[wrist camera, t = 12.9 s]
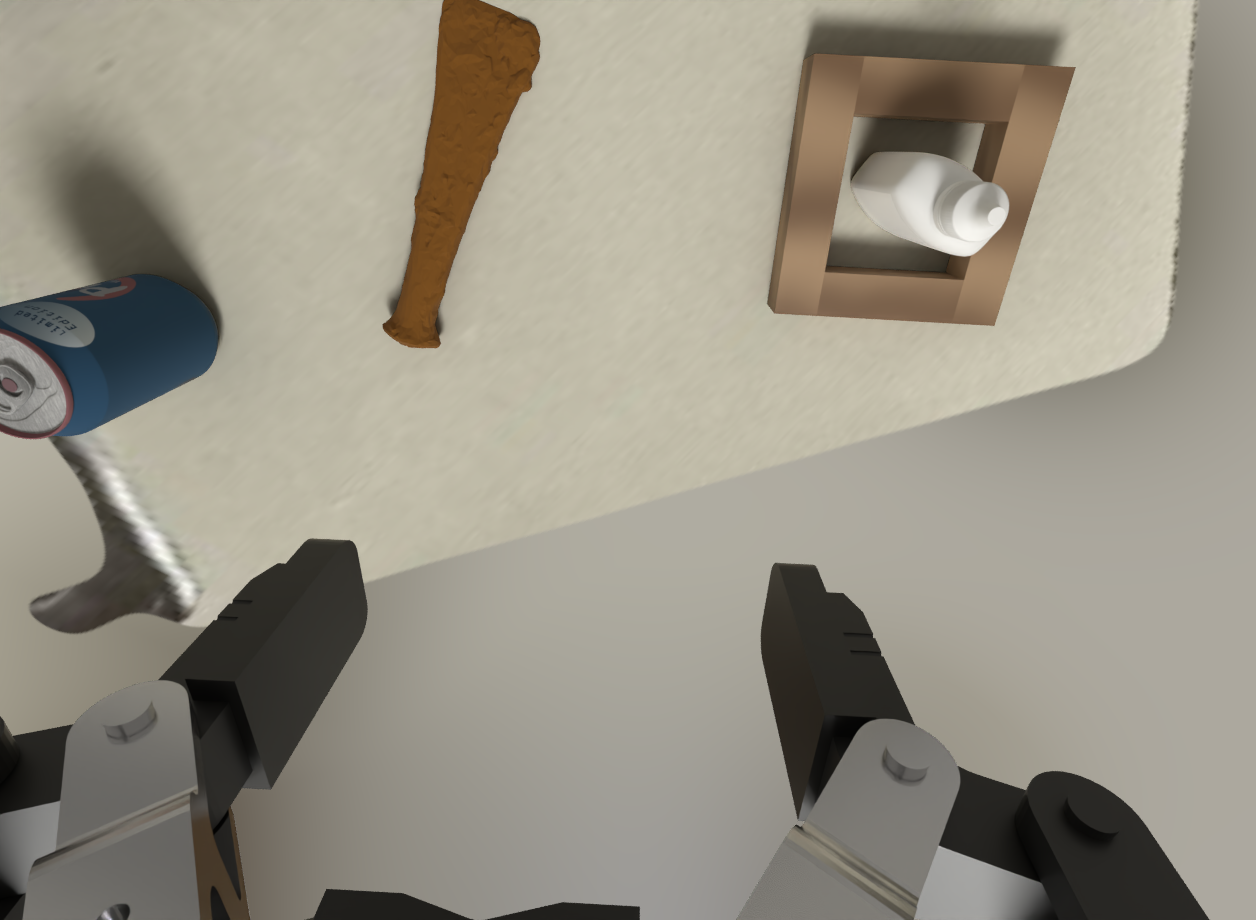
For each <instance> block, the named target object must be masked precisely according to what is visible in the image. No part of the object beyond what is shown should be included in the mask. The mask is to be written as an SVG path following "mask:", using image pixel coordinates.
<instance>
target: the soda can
mask: <svg viewBox="0 0 1256 920" xmlns="http://www.w3.org/2000/svg"><path fill="white" fill-rule="evenodd" d="M217 346H218V330H217V325H216V322H215V320H214V318H213V316H212V314H211V312H210V310H209V309H208V307H207V306H206V305H205V304H204V303H203V301H202V300H201V299H200V298H198V297H197V296H196V295H195V294H194V293H192V292H191V291H189V290H188V289H186V288H184V287H182V286H180V285H178V284H177V283H175V282H172V281H170V280H168V279H165V278H162V277H159V276H155V275H148V274H135V275H130V276H126V277H122V278H118V279H114V280H109V281H105V282H101V283H97V284H93V285H89V286H85V287H81V288H77V289H72V290H68V291H64V292H60V293H56V294H52V295H48V296H44V297H40V298H35V299H31V300H27V301H23V302H19V303H15V304H11V305H7V306H3V307H0V431H1V432H3V433H5V434H8V435H11V436H14V437H18V438H25V439H41V438H46V437H50V436H74V435H80V434H83V433H86V432H88V431H91V430H93V429H95V428H97V427H99V426H101V425H103V424H105V423H107V422H109V421H111V420H113V419H115V418H117V417H119V416H121V415H123V414H125V413H127V412H129V411H131V410H133V409H135V408H137V407H139V406H141V405H143V404H145V403H147V402H149V401H151V400H153V399H155V398H157V397H159V396H161V395H163V394H165V393H167V392H169V391H171V390H173V389H175V388H177V387H179V386H181V385H183V384H185V383H187V382H189V381H191V380H193V379H195V378H197V377H199V376H201V375H202V374H204V373H205V372H206V371H207V370H208V369H209V368H210V366H211V365H212V363H213V361H214V359H215V356H216V352H217Z"/></svg>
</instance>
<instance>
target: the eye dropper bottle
mask: <svg viewBox="0 0 1256 920" xmlns="http://www.w3.org/2000/svg"><path fill="white" fill-rule="evenodd" d="M851 189H852V192H853V195H854V197H855V199H856V201H857V203H858V204H859V206H860V207H861V209H862V210H863V212H864V213H865V214H866V215H867V216H868V217H869V218H870V220H872V221H873V222H874V223H875V224H876V225H877V226H879V227H880V228H882V229H883V230H885V231H887V232H889V233H891V234H893V235H895V236H898V237H900V238H903V239H906V240H909V241H912V242H915V243H918V244H921V245H923V246H926V247H929V248H932V249H935V250H938V251H941V252H945V253H948V254H952V255H956V256H964V257H965V256H971V255H973V254H975V253H976V252H978V251H979V250H980V249H981V248H982V247H983V246H984V245H985V244H986V243H987V242H988V241H989V240H990V239H991V237H992V236H993V235H994V234H995V233H996V232H997V231H998V230H1000V228H1001V227H1002V225H1003V224H1004V222H1005V220H1006V218H1007V216H1008V212H1009V211H1008V210H1009V206H1010V205H1009V199H1008V197H1007V194H1006V192H1005V191H1004V189H1002V187H1000V186H998V185H997V184H995V183H991V182H983V181H982V180H981V179H980V178H979V177H978V176H977V175H976V174H975V173H974V172H973V171H971V170H970V169H968V168H967V167H965V166H964V165H962V164H960V163H958V162H956V161H954V160H951V159H949V158H946V157H943V156H939V155H935V154H931V153H922V152H875V153H873V154H872V155H871V156H870V157H869V158H868V159H867V160H866V161H865V163H864V164H863V165H862V166H861V168H860V169H859V170H858V171H857V173H856V174H855V175H854V177H853V179H852V181H851Z"/></svg>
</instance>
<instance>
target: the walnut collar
mask: <svg viewBox="0 0 1256 920" xmlns="http://www.w3.org/2000/svg"><path fill="white" fill-rule="evenodd" d="M1075 68H1076V67H1058V66H1040V65H1021V64H1002V63H983V62H965V61H946V60H927V59H908V58H890V57H871V56H852V55H833V54H813V55H811V56H809V57H808V58H806V59H804V60H803V67H802V74H801V80H800V87H799V94H798V101H797V107H796V114H795V121H794V128H793V134H792V141H791V148H790V155H789V161H788V168H787V175H786V182H785V188H784V195H783V202H782V209H781V215H780V222H779V229H778V236H777V242H776V249H775V256H774V263H773V269H772V276H771V283H770V290H769V296H768V303H767V304H768V306H769V307H770V308H771V309H772V311H773V312H774V313H777V314H795V315H812V316H830V317H848V318H865V319H883V320H901V321H919V322H936V323H954V324H972V325H990V326H994V325H995V322H996V319H997V315H998V312H999V309H1000V306H1001V303H1002V300H1003V296H1004V293H1005V290H1006V287H1007V284H1008V280H1009V277H1010V274H1011V271H1012V268H1013V265H1014V261H1015V258H1016V255H1017V252H1018V249H1019V246H1020V242H1021V239H1022V236H1023V233H1024V230H1025V227H1026V223H1027V220H1028V217H1029V214H1030V211H1031V207H1032V204H1033V201H1034V198H1035V195H1036V192H1037V188H1038V185H1039V182H1040V179H1041V176H1042V173H1043V169H1044V166H1045V163H1046V160H1047V157H1048V153H1049V150H1050V147H1051V144H1052V141H1053V138H1054V134H1055V131H1056V128H1057V125H1058V122H1059V119H1060V115H1061V112H1062V109H1063V106H1064V103H1065V100H1066V96H1067V93H1068V90H1069V87H1070V84H1071V80H1072V77H1073V74H1074V71H1075ZM853 116H854V117H872V118H891V119H909V120H928V121H946V122H965V123H983V124H985V128H984V132H983V136H982V139H981V143H980V147H979V150H978V154H977V158H976V162H975V165H974V169H973V172H974V173H975V174H976V175H977V176H978V177H979V178H980V179H981V180H982V181H983V182H991V183H995V184H997V185H998V186H1000V187H1002V189H1004V191H1005V192H1006V194H1007V197H1008V199H1009V205H1010V206H1009V210H1008V211H1009V212H1008V216H1007V218H1006V220H1005V222H1004V224H1003V225H1002V227H1001V228H1000V230H998V231H997V232H996V233H995V234H994V235H993V236H992V237H991V239H990V240H989V241H988V242H987V243H986V244H985V245H984V246H983V247H982V248H981V249H980V250H979V251H978V252H976V253H975V254H973V255H971V256H965V257H964V256H956V255H952V254H950V258H949V262H948V266H947V269H946V273H945V272H927V271H909V270H891V269H873V268H855V267H837V266H826V262H827V257H828V252H829V246H830V241H831V235H832V230H833V225H834V219H835V214H836V208H837V203H838V197H839V192H840V187H841V181H842V176H843V170H844V165H845V160H846V154H847V149H848V143H849V138H850V133H851V127H852V122H853Z"/></svg>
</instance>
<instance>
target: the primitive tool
mask: <svg viewBox="0 0 1256 920" xmlns="http://www.w3.org/2000/svg"><path fill="white" fill-rule="evenodd" d="M539 47H540V36H539V33H538V31H537V29H536V27H534V26H533V25H532V24H531V23H530V22H527V21H524V20H521V19H519V18H518V17H517V16H515V15H513V14H512V13H510V12H507V11H505V10H502V9H500V8H497V7H494V6H492V5H489V4H487V3H485V2H482V1H480V0H444V2H443V5H442V15H441V18H440V24H439V38H438V47H437V65H436V86H435V96H434V104H433V111H432V116H431V124H430V128H429V132H428V138H427V143H426V148H425V160H424V170H423V174H422V180H421V183H420V185H421V187H420V189H419V190H418V193H417V195H416V196H415V203H414V205H415V213H416V220H415V225H414V228H413V233H412V237H411V243H412V245H411V253H410V256H409V260H408V265H407V270H406V273H405V277H404V283H403V285H402V291H401V295H400V298H399V301H398V304H397V308H396V311H395V312H394V314H393V315H392V317H391V318H390V319H389V320H388V321H387V322H386V323H384V324H383V329H384V331H385V332H386V333H387V334H388V335H389V336H390V337H392V338H393V339H394V340H396V341H398V342H399V343H400V344H402V345H405V346H408V347H412V348H438V347H439V346H440V344H441V342H440V339H439V335H438V333H437V330H436V327H435V322H436V319H437V316H438V308H439V305H440V303H441V300H442V298H443V296H444V293H445V287H446V283H447V279H448V276H449V273H450V270H451V267H452V264H453V260H454V258H455V255H456V254H457V251H458V247H459V244H460V241H461V239H462V236H463V234H464V232H465V229H466V225H467V222H468V219H469V217H470V214H471V211H472V209H473V206H474V204H475V201H476V199H477V197H478V193H479V192H480V191H481V187H482V185H483V182H484V180H485V178H486V176H487V175H488V174H489V172H490V168H491V164H492V161H493V160H494V159H495V158H496V156H497V154H498V150H497V147H498V144H499V143H500V141H501V138H502V135H503V132H504V130H505V128H506V126H507V124H508V122H509V120H510V117H511V114H512V112H513V110H514V108H515V106H516V104H517V102H518V100H519V97H520V95H521V94H522V92H527V91H529V90H530V89H531V87H532V85H531V76H532V74H533V71H534V70H535V68H536V66H537V64H538V62H539V59H540V55H539V52H538V50H539Z"/></svg>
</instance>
